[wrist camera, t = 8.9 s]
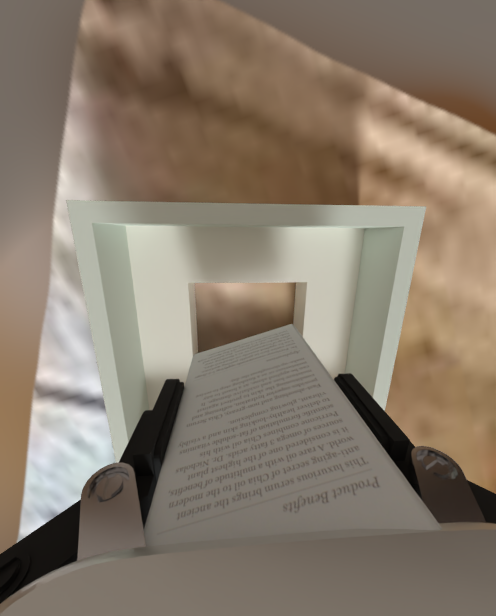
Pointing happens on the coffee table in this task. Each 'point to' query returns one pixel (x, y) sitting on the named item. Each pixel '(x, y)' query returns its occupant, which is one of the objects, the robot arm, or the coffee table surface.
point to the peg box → (238, 269)
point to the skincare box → (273, 452)
